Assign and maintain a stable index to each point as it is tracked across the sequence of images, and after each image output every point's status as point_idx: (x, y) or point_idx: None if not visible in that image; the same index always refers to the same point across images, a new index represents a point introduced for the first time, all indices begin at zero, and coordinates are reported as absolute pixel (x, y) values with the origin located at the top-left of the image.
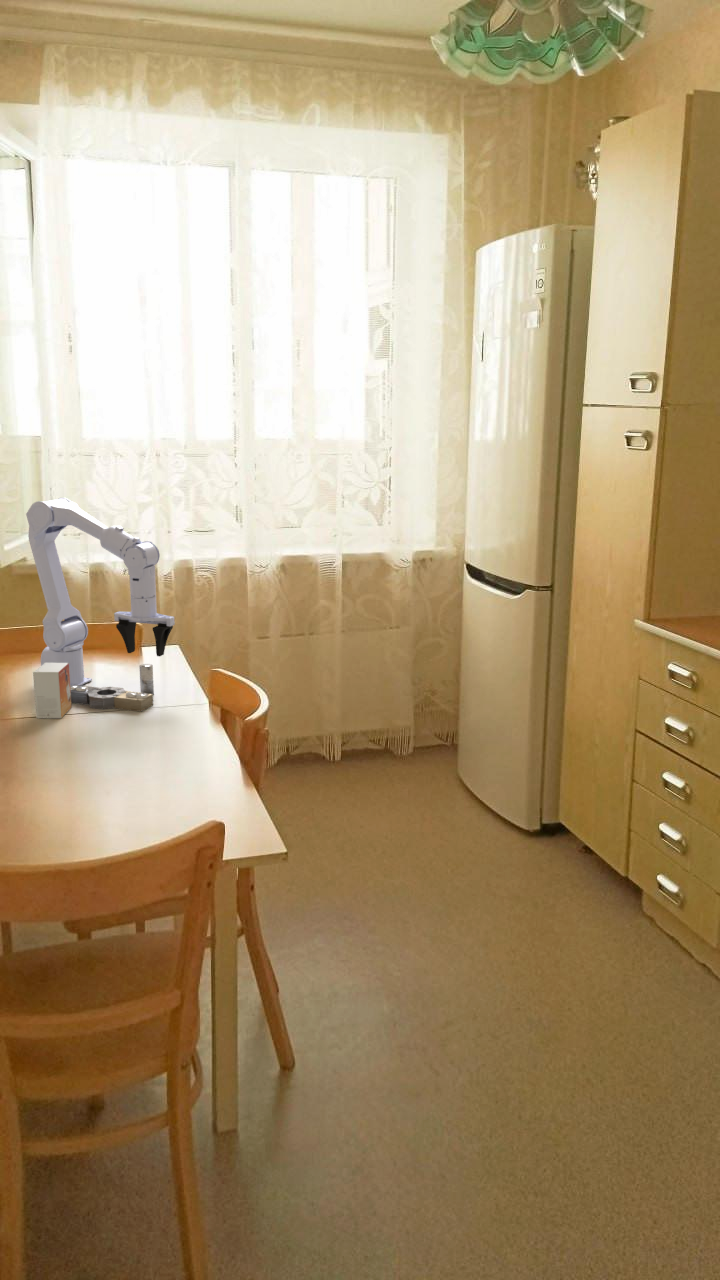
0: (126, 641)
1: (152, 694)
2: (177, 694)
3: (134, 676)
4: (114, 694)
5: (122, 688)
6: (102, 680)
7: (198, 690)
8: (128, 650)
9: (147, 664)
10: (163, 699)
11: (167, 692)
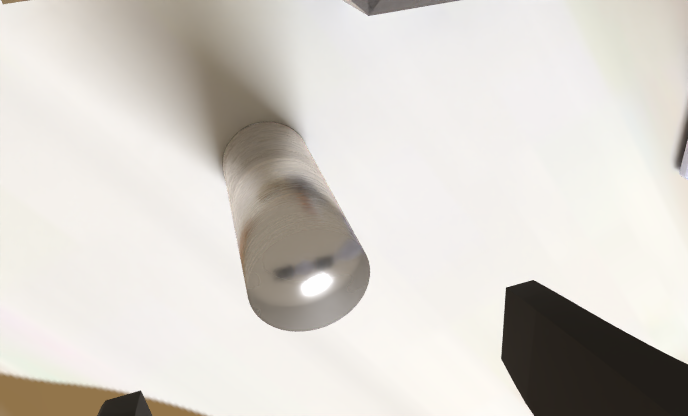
0: (638, 369)
1: (4, 2)
2: (100, 267)
3: None
4: None
5: (367, 5)
6: (631, 209)
7: (58, 379)
8: (538, 297)
9: (323, 311)
10: (88, 145)
11: (188, 260)
